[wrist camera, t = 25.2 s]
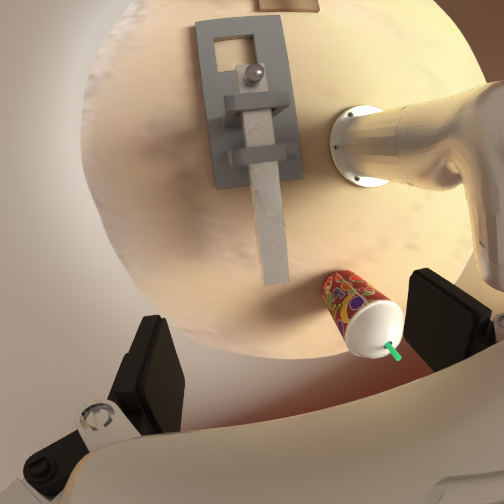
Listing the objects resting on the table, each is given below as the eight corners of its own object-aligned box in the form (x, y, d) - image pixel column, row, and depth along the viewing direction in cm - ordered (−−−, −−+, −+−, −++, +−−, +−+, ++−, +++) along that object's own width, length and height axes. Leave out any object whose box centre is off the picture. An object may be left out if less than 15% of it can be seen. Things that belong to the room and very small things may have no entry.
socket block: (278, 19, 34) (304, -34, 19) (300, 177, 42) (342, 189, 27) (195, 26, 33) (186, -29, 19) (216, 188, 41) (214, 206, 27)
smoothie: (305, 281, 47) (355, 357, 28) (349, 252, 46) (420, 311, 27) (327, 318, 49) (377, 397, 31) (368, 291, 49) (433, 357, 30)
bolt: (260, 70, 27) (267, 55, 22) (284, 272, 34) (294, 291, 29) (235, 72, 26) (237, 57, 22) (261, 276, 33) (268, 296, 29)
